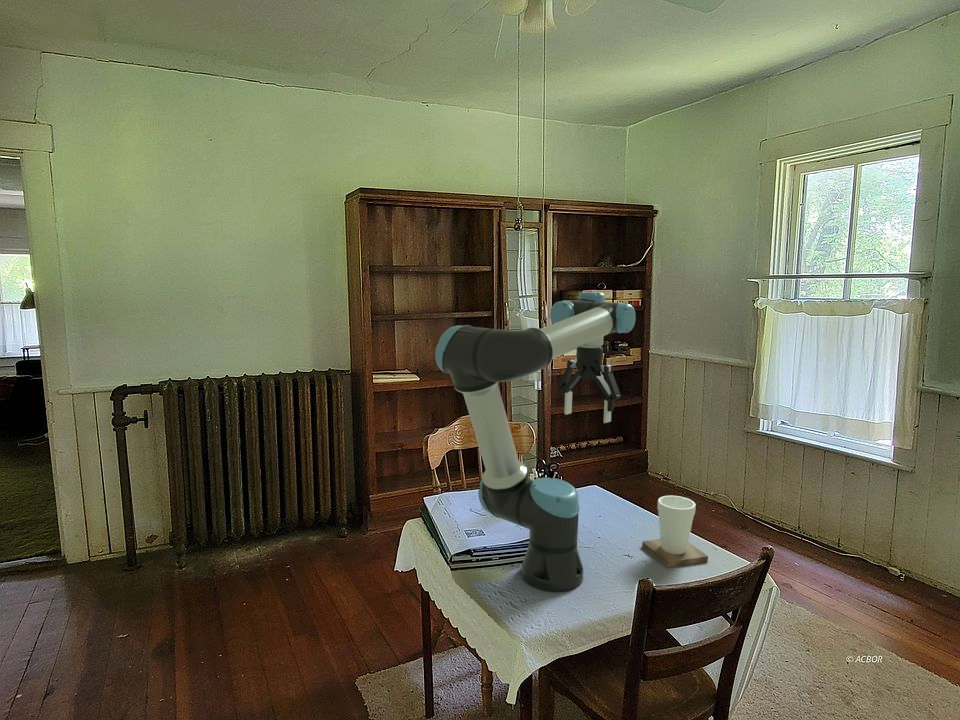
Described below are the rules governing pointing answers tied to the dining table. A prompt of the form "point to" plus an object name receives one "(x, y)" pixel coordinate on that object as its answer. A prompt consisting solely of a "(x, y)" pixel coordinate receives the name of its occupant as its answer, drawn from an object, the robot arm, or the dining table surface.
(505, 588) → the dining table surface
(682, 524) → the foam cup
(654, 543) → the walnut coaster
